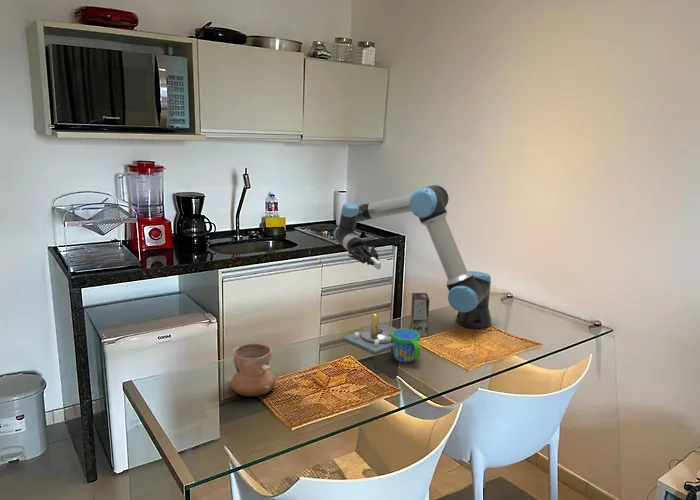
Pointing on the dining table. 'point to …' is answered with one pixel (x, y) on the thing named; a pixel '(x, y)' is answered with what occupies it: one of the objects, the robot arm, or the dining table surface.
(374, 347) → the stand
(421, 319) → the coffee box
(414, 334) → the snack cup
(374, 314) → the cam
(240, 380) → the ceramic jug
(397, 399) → the dining table surface
